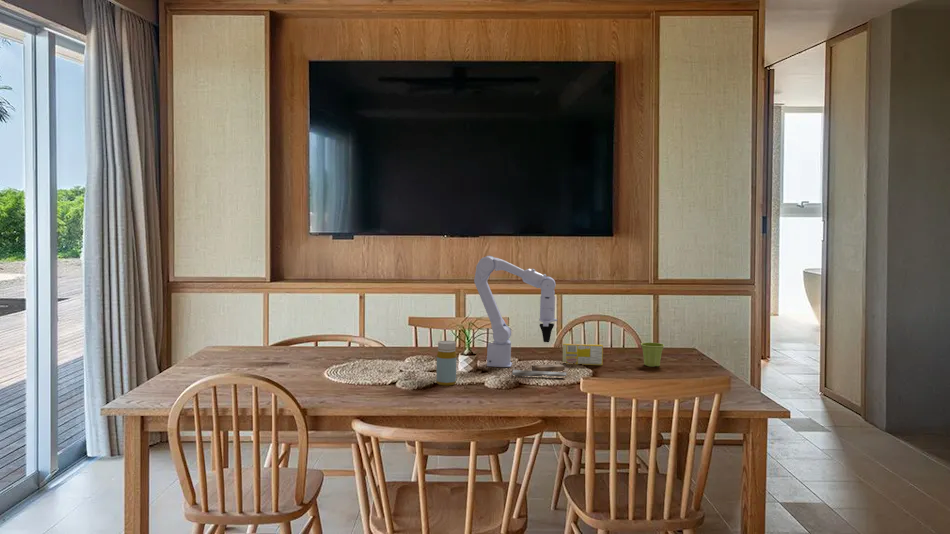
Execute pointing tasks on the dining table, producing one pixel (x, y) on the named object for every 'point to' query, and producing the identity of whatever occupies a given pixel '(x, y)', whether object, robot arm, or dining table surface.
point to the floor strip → (537, 373)
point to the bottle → (446, 363)
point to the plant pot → (652, 353)
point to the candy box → (583, 354)
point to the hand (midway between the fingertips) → (546, 342)
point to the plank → (548, 367)
